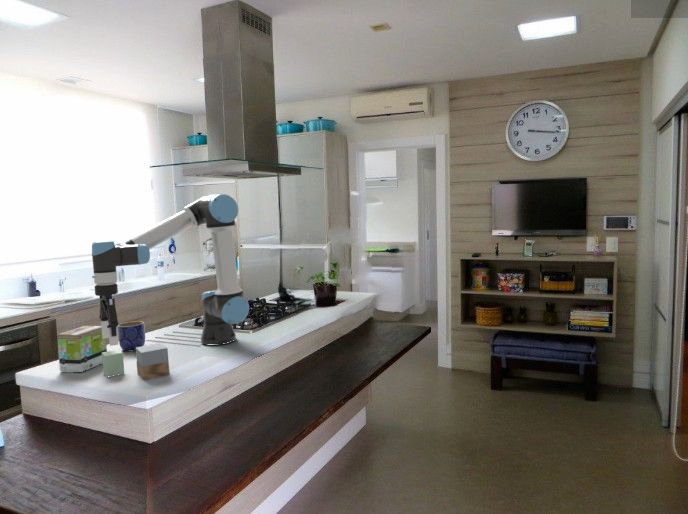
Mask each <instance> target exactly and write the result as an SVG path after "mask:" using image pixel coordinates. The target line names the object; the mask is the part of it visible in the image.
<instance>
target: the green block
mask: <svg viewBox="0 0 688 514" xmlns="http://www.w3.org/2000/svg"><path fill="white" fill-rule="evenodd" d="M102 361H103V363H102V369H103V371H102V372H103V375H104V374H105V375H106V376H107V377H106V376H105V375H104V376H105V377H106V378H109V377H108V376H112V377H114V376H113V375H117V376H119V375H118V374H122V375H125V374H124V373H125V364H124V363H125V362H124V353H123V351H122V350H120V349H113V350H109V351H108V350H107V352H102Z"/></svg>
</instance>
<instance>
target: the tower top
mask: <svg viewBox="0 0 688 514" xmlns="http://www.w3.org/2000/svg"><path fill="white" fill-rule="evenodd" d="M135 355H136V357H135V358H136V361H137V362H138V363H139V364H140V365H141V366H142V367H144V366H149V365H154V364H159V363H164V362H169V348H168V347H167V346H166V345H164V343H162V342H159V343H154V344H149V345H144V346H142V347H136V350H135ZM137 362H136V363H137ZM169 363H170V362H169Z"/></svg>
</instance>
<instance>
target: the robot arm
mask: <svg viewBox="0 0 688 514" xmlns="http://www.w3.org/2000/svg"><path fill="white" fill-rule="evenodd" d="M238 214H239V206H238V204H237V201H236V200H235V198H233V197H232V196H230V195H229V194H225V193H216V194H209V195H207V194H206V195H204V196H202V197H200V198H198V199H196V200H195V201H193V202H191V203H189V204H188V205H186V206H184V207H183V208H182V211H180V212H178V213H176V214H173V216H170V217H168V218H167V219H165V220H163V221H161V222H158V223H157V224H154V225H153V226H151V227H149V228H147V229H144V230H143V231H142V232H140V233H137V234H136V235H133V236H132V237H130V238H128V239H126V240H125V241H122V242H119V243H115V241H113V240H98V241H94V242H93V243H92V244H91V257H92V266H93V267H92V269H93V275H92V276H91V277H92V279H93V282H94V283H93V284H95V285H94V295H95V296H97V297H99V319H100V326H101V327H102V339H105V338H106V339H109V347H111V346H118V345H119V340H118V330H117V326H118V325H119V320H118V315H117V309H116V299H115V298H113V297H112V296H113V295H117V294H118V293H119V289H118V284H117V283H118V273H117V267H122V266H124V267H125V266H136V265H138V266H140V265H145V264H148V263H150V259H151V251H150V250H152V249H153V248H156V247H157V246H159V245H161V244H162V243H164V242H166V241H168V240H170V239H172V238H173V237H176V236H177V235H180V234H182V233H183V232H184V231H186V230H188V229H190V228H197V227H199V226H201V225H204V224H206V226H205V227H206V229H207V230H208V231H209V232H210V235H211V242H212V243H211V245H212V251H213V252H212V253H213V260H214V268H215V277H216V285H217V288H216V289H215V290H210V291H209V290H208V291H204V292H203V293H202V294H201V303H202V305H201V306H202V316H203V327H202V332H201V336H200V342H201V343H202V345H203V344H223V343H227V342H230V341H233V340H235V339H236V340H237V336H236V333H235V330H234V327H233V326H232V325H233V324H234V325H236V324H240V323H241V322H243V321H244V320H246V318H247V316H248V315H249V312H250V304H249V302H248V300H247V299H246V298H245V297H244V292H243V291H244V289H242V288H241V287H240V286H239V279H238V271H237V263H236V253H235V252H236V251H235V245H234V235H233V229H234V228H235V227H236V221H235V220H236V218H237V216H238ZM236 340H235V341H236ZM201 343H200V344H201ZM223 345H224V344H223Z"/></svg>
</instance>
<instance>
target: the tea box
mask: <svg viewBox="0 0 688 514" xmlns="http://www.w3.org/2000/svg"><path fill="white" fill-rule="evenodd" d="M107 347H108V346H107V338H105V339H102V327H101V325H82V326H80V327H77V328H73V329H70V330H67V331H64V332H60V333H57V348H58V349H57V350H58V361H59V372H60V371H62V372H61V373H73V372H82V373H83V371H84V372H85V370H86V371H88V370H90V369H93V368H94V367H97V366H100V365H103V361H102V352H107V351H108V348H107ZM99 364H100V365H99Z"/></svg>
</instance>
